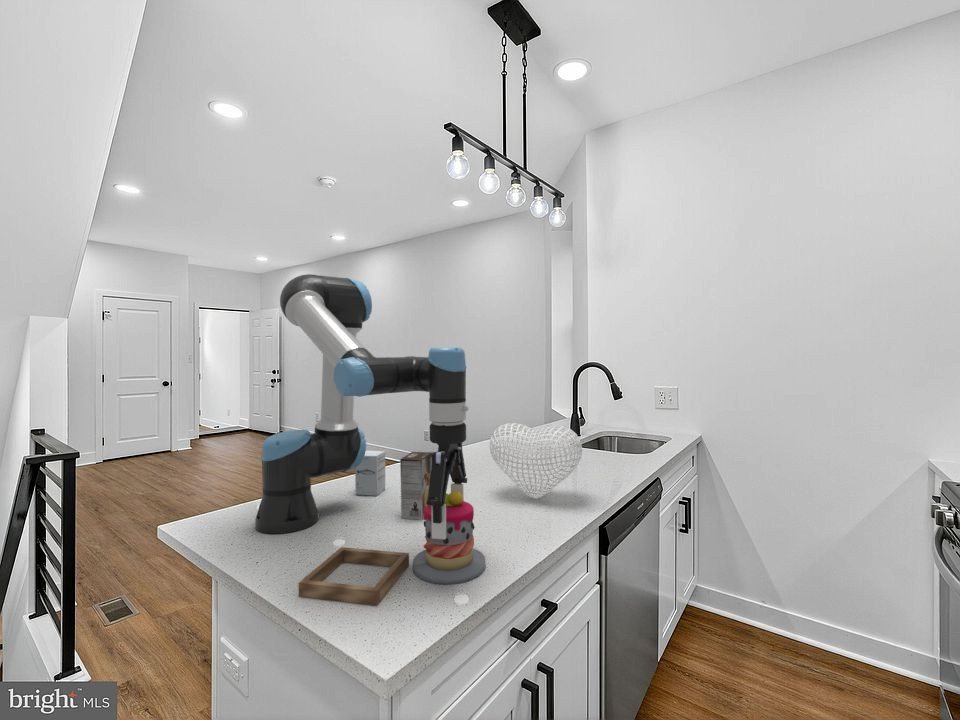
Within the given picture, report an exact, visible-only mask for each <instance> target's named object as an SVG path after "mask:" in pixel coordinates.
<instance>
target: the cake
mask: <svg viewBox="0 0 960 720" xmlns="http://www.w3.org/2000/svg"><path fill="white" fill-rule="evenodd" d="M435 499H437V498H435ZM444 504H446V539H434V538H432V517H431V505H427V506H426V507H425V509H424V519H423V520H424V521H423V527H424V528H425V530H424V531H425V535H424V539H425V541H426V542H425V544H424V545H423V548H424V550H426V563H427V565H428V566H430V567H432V568H434V569H437V570H445V571H449V570H457V569H462V568H464V567H467V566H468V565H469V564H471V563H472V561H473V548H474V547H475V536H474V535H473V534H474V533H473V531H474V530H475V528H476V527H475V525H474V523H473V521H474V516H475V513H474V512H475V511H474V507H473V505H472V504H471V503H470V502H467V501H465V500H464V501H463V496H462V494H461V493H460V492H459V491H453V492H451V491H450V493H447V492H446V496H445V502H444Z"/></svg>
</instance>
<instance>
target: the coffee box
mask: <svg viewBox="0 0 960 720" xmlns="http://www.w3.org/2000/svg"><path fill="white" fill-rule="evenodd" d="M433 452H434V451H433ZM433 452H430V451H412V452H411V451H410V452H409V453H407V454H406V455H404V456H403V457H402V458H400V460H399V461H400V465H399V466H400V507H401V508H400V509H401V511H400V514H401V515H400V517H401V519H410V520H422V521H423V520H425V519H424V509H425V507H426V506H427V504H426V502H427V500H428V492H429V484H430V476H431V469H432V454H433Z"/></svg>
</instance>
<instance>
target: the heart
mask: <svg viewBox="0 0 960 720" xmlns="http://www.w3.org/2000/svg"><path fill="white" fill-rule="evenodd" d="M546 433H547V434H546ZM512 434H513V435H512ZM564 438H566V439H564ZM531 439H532V440H531ZM560 439H561V441H560ZM580 439H581V438H580V437H579V436H578V434H577V433H576V432H575V431H574V430H572V429H571V428H570V427H567V426H563V425H551V426H547V427H542V428H537V429H536V428H532V427H530V426H527V425H525V424H523V423H518V422H508V423H504V424H502V425H500V426H498V427H497V428H495V430H494V432H493V433H492V435H491V436H490V439H489V440H490V441H489V451H490V452H489V453H490V454H491V457H492V459H493V461H494V462H495V464H496V466H498V468H499V469H500V470H501V471H502V472H503V473H504V474H505V475H506V476H507V477H508V478H509V479H510V480H511V481H512V482H513V483H514V484H515V485H516V486H517V487H518V488H519V489H520V490H521V491H522V492H523V493H524V494H525V495H526V496H527V497H530V498H531V499H540V498H542V497H544V496H545V495H547V494H549V493H550V492H551V491H553V489H554V488H555V487H557V486H558V485H559V484H560V483H562V482H563V481H564V480H566V479H567V478H568V477H569V476H570V475H571V474H572V473H573V472H574V471H575V469H577V468H578V465H579V463H580V461H581V459H582V456H583V445H582V442H581V440H580ZM547 441H548V443H547ZM542 442H544V443H542ZM569 443H570V444H569ZM557 444H558V445H557ZM565 444H566V446H565ZM547 447H548V448H547ZM552 447H553V448H552ZM526 449H527V450H526ZM530 449H531V451H530ZM557 449H558V450H557ZM506 450H507V451H506ZM534 450H535V452H534ZM538 450H539V451H538ZM511 452H512V453H511ZM520 453H521V454H520ZM515 454H516V455H515ZM524 454H526V456H525V455H524ZM501 455H502V456H501ZM529 455H530V456H529ZM534 455H535V458H534V457H533V456H534ZM538 456H539V458H538ZM543 456H544V457H543ZM543 461H544V462H545V463H543ZM548 461H549V463H548ZM506 462H507V463H506ZM520 465H521V466H520ZM524 466H526V467H524ZM530 466H532V467H530ZM536 466H537V467H536ZM560 467H561V468H560ZM513 469H514V470H513ZM524 470H527V472H525V471H524ZM530 471H533V472H530ZM542 472H543V473H542ZM547 472H549V473H547ZM526 475H528V476H526ZM531 475H532V476H533V477H531ZM537 476H538V477H537ZM544 481H546V482H544Z"/></svg>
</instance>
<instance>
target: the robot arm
mask: <svg viewBox="0 0 960 720" xmlns="http://www.w3.org/2000/svg"><path fill="white" fill-rule="evenodd" d="M372 302H373V301H372V295H371V293H370V290H369V289H368V287H367V286H366V284H364V283H363V282H362V281H360V280H358V279H357V280H356V279H352V278H348V277H338V276H329V275H317V274H311V273H310V274H309V273H307V274H301V275H298V276H296V277H293V278H292V279H290V280H289V281H288V282H287V283H286V285H284V287H283V288H282V290H281V293H280V296H279V306H280V309H281V311H282V314H283V315H284V317H285V318H286V320H288V322H290V323H291V324H292V325H294V326H295V327H296V326H297V327H299V328H300V329H301V330H302V331H303V333H305V335H306V336H307V337H308V338H309V339H310V340H311V342H312V343H313V344H314V345H315V347H317V349H318V350H319V351H320V352H321V353H322V371H321V372H322V375H321V376H322V378H321V400H320V401H321V402H320V404H321V405H320V406H321V407H320V408H321V409H320V419H319V420H318V421H317V422H316V423H314V433H311V432H310V431H309V430H308V429H295V430H287V431H282V432H278V433H274V434H272V435H270V436H268V437H267V438H266V439H265V440H264V441H263V442H262V444H261V455H260V456H261V457H260V459H261V471H262V472H261V476H262V477H261V479H262V483H261V484H262V486H261V487H262V496H261V500H260V502H259V506H258V510H257V512H256V513H257V514H256V516H255V522H254V523H255V529H256V530H257V531H258V532H260V531H261V533H263V532H264V533H263V534H274V533H275V534H287V533H293V532H297V531H301V530H305V529H306V528H309V527H311V526H313V525H314V524H316V523H317V522H318V521H319V508H318V507H317V504H316V501H315V498H314V495H313V493H312V479H313V478H318V477H324V476H327V475H332V474H338V473H346V472H348V471H350V470H353V469H355V468H356V467H358V465H360V464H361V462H362V461H363V459H364V456H365V452H366V451H367V443H366V442H367V440H366V438H365V437H366V436H365V434H364V432H363V431H362V430H361V429H360V428H359V423H358V422H356V420H354V403H355V402H354V399H355V397H365V396H373V395H375V396H376V395H385V394H396V393H399V394H400V393H409V392H426V393H429V394H428V395H429V398H428V400H429V401H428V404H429V406H428V411H429V412H428V417H429V418H428V421H430V422H431V423H430V425H429V441H430V442H431V443H432V444H436V445H438V448H437V451H433V453H432V469H431V476H430V484H429V492H428V500H427V502H426V504H427V505H431V517H432V538H434V539H446V504H444V502H445V496H446V493H447V490H448V485H449V480H450V479H451V484H450V493H451V492H453V491H459V492H460V493H461V494H462V496H463V501H465V500H464V498H465V497H464V491H465V490H464V484H467V483H468V478H467V477H466V476H467V472H466V465H465V460H464V459H465V458H464V453H463V443H464V442H465V441H466V440H467V424H466V423H465V421H466V418H467V415H466V414H467V412H468V411H469V410H470V409H469V407H468V406H467V404H466V401H467V399H466V395H467V392H466V391H467V390H466V389H467V387H466V385H467V384H466V383H467V381H466V379H467V376H466V375H467V374H466V373H467V371H466V370H467V365H466V364H467V363H466V362H467V361H466V353H465V349H463V348H461V347H431V348H430V349H429V351H428V356H427V357H426V356H415V355H414V356H411V355H410V356H400V357H399V356H397V357H396V356H395V357H376V356H374V355H373V354H372V353H371V351H369V350H368V349H367V348H366V347H365V346H364V344H362V343H361V342H360V341H359V340H358V339H357V335H358V333H360V332H361V330H362V329H363V323H365V322H367V321H368V320H369V319H370V318H371V316H370V315H372V311H373V303H372ZM449 478H450V479H449ZM435 498H437V499H435ZM292 531H293V532H292ZM286 532H287V533H286Z"/></svg>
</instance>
